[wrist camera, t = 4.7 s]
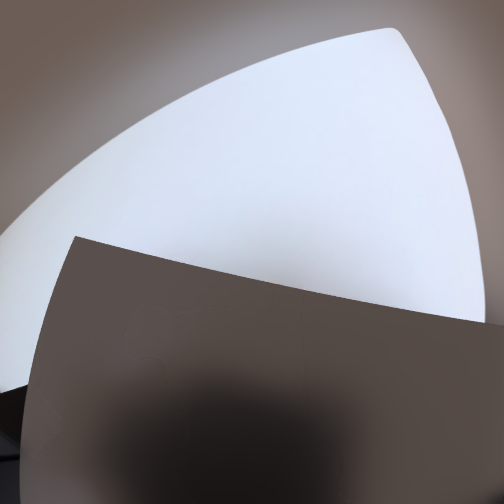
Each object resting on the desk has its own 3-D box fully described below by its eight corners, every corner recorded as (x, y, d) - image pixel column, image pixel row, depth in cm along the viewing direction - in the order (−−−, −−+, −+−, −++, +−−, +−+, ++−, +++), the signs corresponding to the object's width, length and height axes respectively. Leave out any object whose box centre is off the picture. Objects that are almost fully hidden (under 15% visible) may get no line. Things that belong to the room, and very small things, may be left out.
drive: (302, 433, 12) (495, 531, 1) (184, 410, 12) (20, 507, 1) (314, 371, 14) (536, 317, 2) (199, 348, 14) (82, 218, 3)
